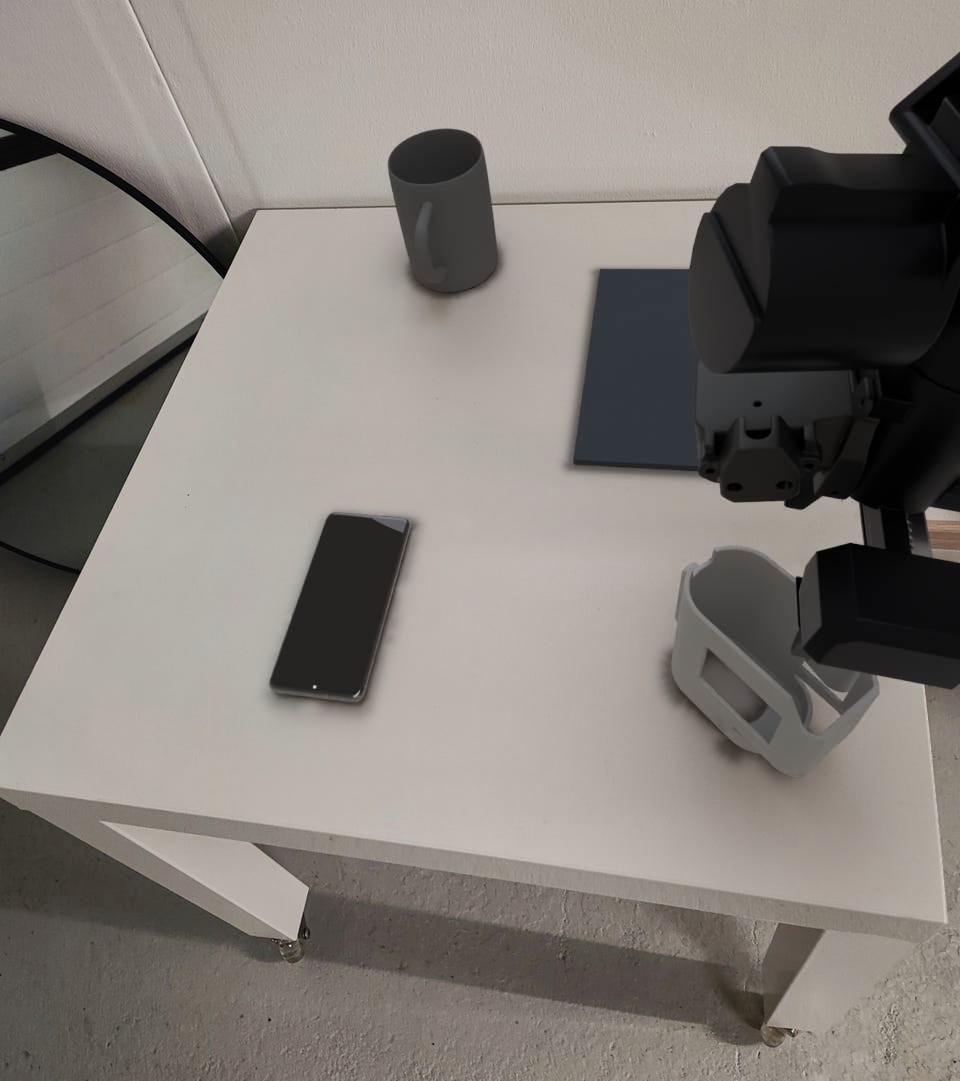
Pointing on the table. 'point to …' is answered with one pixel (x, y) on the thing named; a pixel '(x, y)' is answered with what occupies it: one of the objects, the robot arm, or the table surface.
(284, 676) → the smartphone
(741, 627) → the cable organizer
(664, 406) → the mat
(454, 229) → the mug
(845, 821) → the table surface
